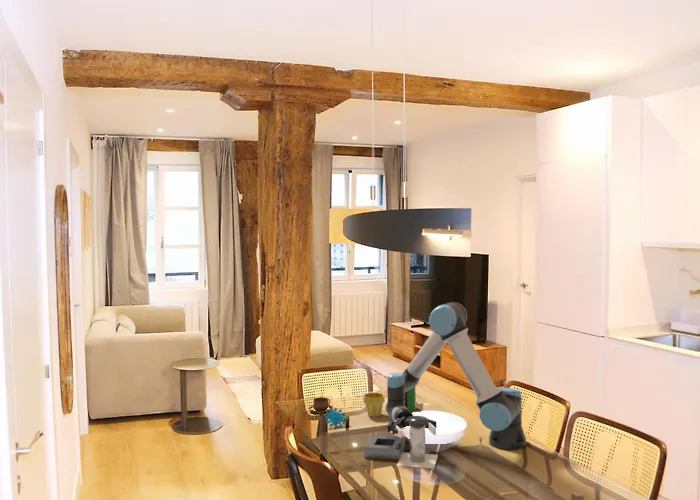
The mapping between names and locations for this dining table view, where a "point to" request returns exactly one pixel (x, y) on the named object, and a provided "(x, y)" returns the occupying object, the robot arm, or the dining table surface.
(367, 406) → the plant pot
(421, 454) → the flanged shaft
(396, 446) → the housing
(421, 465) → the pad
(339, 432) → the dining table surface
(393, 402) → the robot arm
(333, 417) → the gear
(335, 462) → the dining table surface
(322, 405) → the cup and saucer
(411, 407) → the motor
